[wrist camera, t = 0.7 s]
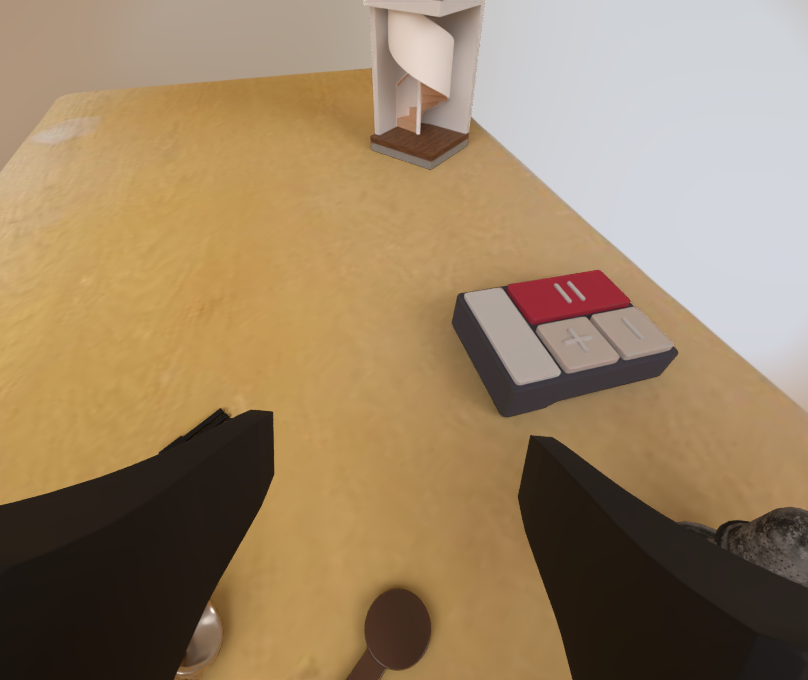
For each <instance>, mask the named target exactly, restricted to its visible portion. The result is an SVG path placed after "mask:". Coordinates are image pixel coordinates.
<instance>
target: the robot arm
mask: <svg viewBox="0 0 808 680" xmlns="http://www.w3.org/2000/svg"><path fill="white" fill-rule="evenodd" d="M273 476H274V432H273V412H272V411H261V410H249V411H247V412H244V413H242V414H240V415H238V416H236V417H234V418H232V419H230V420H228V421H226V422H224V423H222V424H220V425H218V426H216V427H214V428H212V429H210V430H208V431H206V432H204V433H202V434H200V435H198V436H196V437H194V438H192V439H190V440H188V441H186V442H184V443H182V444H180V445H177V446H175V447H173V448H171V449H169V450H167V451H164V452H162V453H160V454H158V455H156V456H153V457H151V458H149V459H146V460H144V461H142V462H139V463H137V464H134V465H132V466H129V467H126V468H124V469H121V470H118V471H115V472H113V473H110V474H107V475H104V476H102V477H99V478H96V479H92V480H89V481H86V482H83V483H79V484H76V485H73V486H70V487H67V488H63V489H60V490H57V491H54V492H50V493H47V494H43V495H40V496H36V497H32V498H28V499H24V500H21V501H17V502H13V503H9V504H4V505H0V680H174V678H175V676H176V674H177V671H178V669H179V667H180V664H181V662H182V660H183V657H184V655H185V653H186V650H187V648H188V646H189V643H190V641H191V639H192V637H193V634H194V632H195V630H196V628H197V626H198V623H199V621H200V619H201V617H202V614H203V612H204V610H205V608H206V606H207V603H208V601H209V599H210V597H211V595H212V593H213V592H214V590H215V588H216V586H217V584H218V582H219V580H220V578H221V577H222V575H223V573H224V571H225V570H226V568H227V566H228V564H229V563H230V561H231V559H232V557H233V556H234V554H235V552H236V550H237V549H238V547H239V545H240V543H241V542H242V540H243V538H244V536H245V535H246V533H247V531H248V529H249V528H250V526H251V524H252V522H253V520H254V519H255V517H256V515H257V513H258V511H259V510H260V508H261V506H262V503H263V501H264V499H265V496H266V494H267V491H268V489H269V486H270V484H271V481H272V479H273ZM518 500H519V505H520V510H521V515H522V520H523V524H524V528H525V532H526V535H527V538H528V541H529V544H530V547H531V550H532V552H533V555H534V558H535V561H536V564H537V566H538V569H539V572H540V575H541V578H542V580H543V583H544V586H545V589H546V592H547V594H548V597H549V600H550V603H551V605H552V608H553V611H554V614H555V617H556V620H557V623H558V626H559V630H560V633H561V636H562V640H563V644H564V648H565V652H566V656H567V660H568V664H569V667H570V671H571V675H572V679H573V680H808V588H807V587H805V586H803V585H801V584H798V583H796V582H794V581H791V580H789V579H787V578H784V577H782V576H780V575H777V574H775V573H773V572H771V571H769V570H767V569H765V568H762V567H760V566H758V565H756V564H754V563H752V562H750V561H747V560H746V559H744V558H742V557H740V556H738V555H736V554H734V553H732V552H730V551H728V550H726V549H724V548H722V547H720V546H718V545H716V544H714V543H712V542H710V541H708V540H706V539H704V538H703V537H701V536H699V535H697V534H695V533H693V532H692V531H690V530H688V529H687V528H685V527H683V526H681V525H680V524H678V523H676V522H675V521H673V520H671V519H669V518H668V517H666V516H664V515H663V514H661V513H659V512H658V511H656V510H655V509H653V508H651V507H650V506H648V505H647V504H645V503H644V502H642V501H641V500H639V499H638V498H636V497H635V496H633V495H632V494H630V493H629V492H627V491H626V490H625V489H623V488H622V487H620V486H619V485H618V484H616V483H615V482H613V481H612V480H611V479H609V478H608V477H606V476H605V475H604V474H602V473H601V472H600V471H598V470H597V469H596V468H594V467H593V466H592V465H590V464H589V463H588V462H586V461H585V460H584V459H582V458H581V457H580V456H578V455H577V454H576V453H574V452H573V451H572V450H570V449H569V448H568V447H566V446H565V445H564V444H562V443H561V442H559V441H558V440H556V439H554V438H553V437H544V436H533V435H530V439H529V444H528V449H527V454H526V459H525V464H524V469H523V474H522V479H521V484H520V489H519V494H518Z"/></svg>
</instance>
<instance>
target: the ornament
mask: <svg viewBox="0 0 808 680" xmlns="http://www.w3.org/2000/svg"><path fill="white" fill-rule="evenodd" d="M222 640H223V626H222V621H221V618H220V616H219V614H218V611H217V609H216V608H215V606H214V605H213V603H212V602H211V601H210V600H209V601H208V603H207V606H206V608H205V610H204V612H203V614H202V617H201V619H200V621H199V623H198V626H197V628H196V630H195V632H194V634H193V637H192V639H191V641H190V643H189V646H188V648H187V650H186V659H185V664H184V666H183V667H181V666H180V667H179V669H178V671H177V674H176V676H175V678H174V680H184V678H185V679H192V680H198V679H200V678H201V677H202V674H203V671H205V670H206V669H207V668H208V667H209V666H210V665H211V664H212V663H213V662H214V660H215V659H216V657H217V656H218V653H219V651H220V648H221V645H222Z"/></svg>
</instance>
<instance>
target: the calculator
mask: <svg viewBox="0 0 808 680" xmlns="http://www.w3.org/2000/svg"><path fill="white" fill-rule="evenodd" d="M630 302H631V301H630V299H629V298H628V297H627V296H626V295H625V294H624V293H623V292H622V291H621V290H620V289H619V288H618V287H617V286H616V285H615V284H614V283H613V282H612V281H611V280H610V279H609V278H608V277H607V276H606V275H605V274H604V273H603V272H601V271H600V270H594V271H588V272H582V273H576V274H570V275H564V276H557V277H551V278H545V279H539V280H533V281H527V282H520V283H514V284H509V285H508V286H502V287H496V288H490V289H484V290H478V291H472V292H466V293H460V294H458V296H457V300H456V305H455V310H454V315H453V320H452V325H453V327H454V329H455V331H456V332H457V334H458V336H459V338H460V340H461V342H462V344H463V346H464V347H465V349H466V351H467V353H468V355H469V357H470V359H471V361H472V362H473V364H474V366H475V368H476V370H477V372H478V374H479V375H480V377H481V379H482V381H483V383H484V385H485V387H486V389H487V390H488V392H489V394H490V396H491V398H492V400H493V402H494V404H495V405H496V407H497V409H498V411H499V413H500V414H501V415H502V416H503V417H510V416H514V415H518V414H522V413H526V412H530V411H534V410H538V409H542V408H545V407H547V406H549V405H551V404H553V403H555V402H557V401H560V400H564V399H568V398H572V397H576V396H580V395H584V394H588V393H592V392H596V391H600V390H604V389H608V388H612V387H616V386H620V385H624V384H628V383H632V382H636V381H640V380H645V379H649V378H653V377H657V376H659V375H660V374H661V373H662V372H663V371H664V370H665V369H666V368H667V366H668V365H669V364H670V363H671V362H672V361H673V359H674V358H675V357H676V356H677V355H678V351H677V349H676V348H675V347H674V344H673V342H672V341H671V340H670V339H669V338H668V337H667V336H666V335H665V334H664V333H663V332H662V331H661V330H660V329H659V328H658V327H657V326H656V325H655V324H654V323H653V322H652V321H651V320H650V319H649V318H648V317H647V316H646V315H645V314H644V313H643V312H642V311H641V310H640V309H639V308H637V307H634V306H633V305H632V304H631V303H630Z"/></svg>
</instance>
